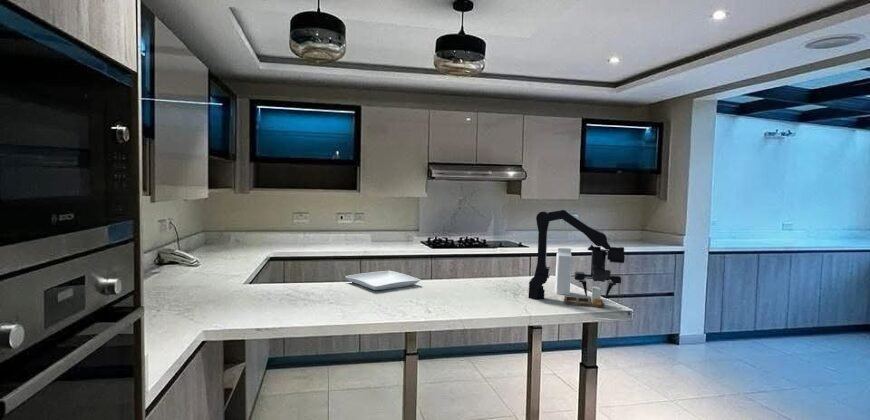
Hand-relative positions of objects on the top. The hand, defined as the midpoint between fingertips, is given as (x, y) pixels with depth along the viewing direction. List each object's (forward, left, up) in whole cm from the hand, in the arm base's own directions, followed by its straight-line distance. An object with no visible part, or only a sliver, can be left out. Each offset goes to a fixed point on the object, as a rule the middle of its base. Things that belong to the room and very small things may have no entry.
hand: (596, 297), depth 207 cm
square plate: (-99, +6, -5) cm, 99 cm away
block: (0, 0, -3) cm, 3 cm away
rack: (-5, 0, -4) cm, 6 cm away
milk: (-13, +17, -4) cm, 22 cm away
